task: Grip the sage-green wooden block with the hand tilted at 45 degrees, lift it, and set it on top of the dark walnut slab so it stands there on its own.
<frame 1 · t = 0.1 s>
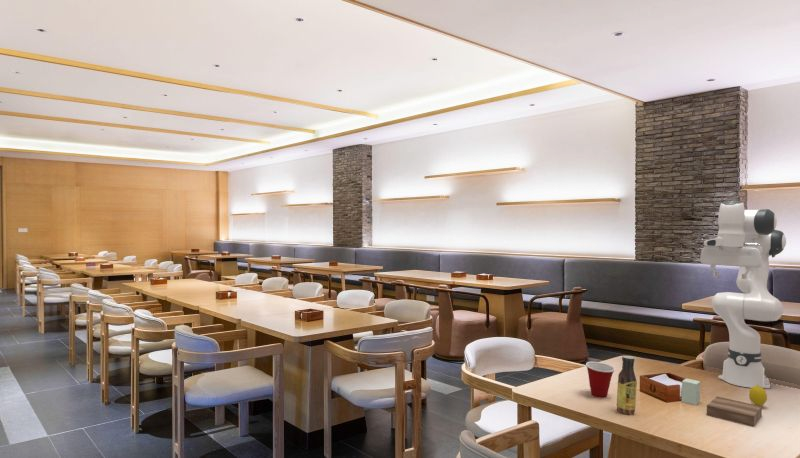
hand: (729, 277, 196), 48 cm above the table, tool pointing down, fingers open, 8 cm apart
sage block: (690, 401, 194), on the table
lemon: (757, 406, 190), on the table
walnut slab: (733, 416, 180), on the table
plastic cup: (599, 396, 199), on the table
sauce bottle: (626, 412, 182), on the table
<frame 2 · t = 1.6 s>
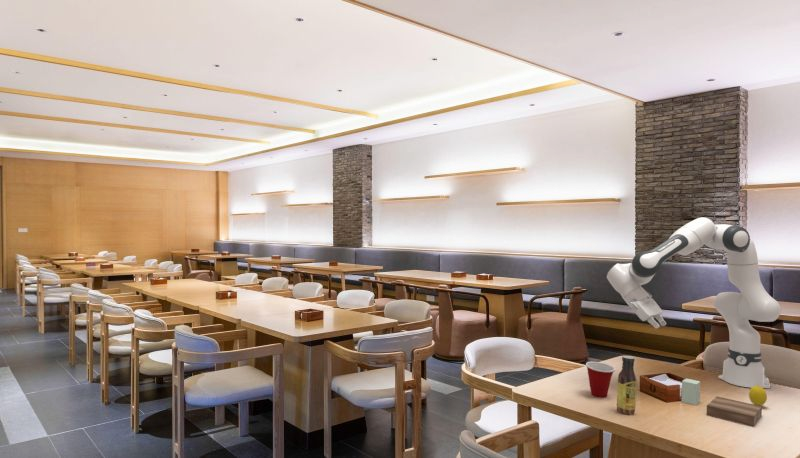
hand: (661, 326, 201), 27 cm above the table, tool tilted 45°, fingers open, 8 cm apart
nothing on the table moved.
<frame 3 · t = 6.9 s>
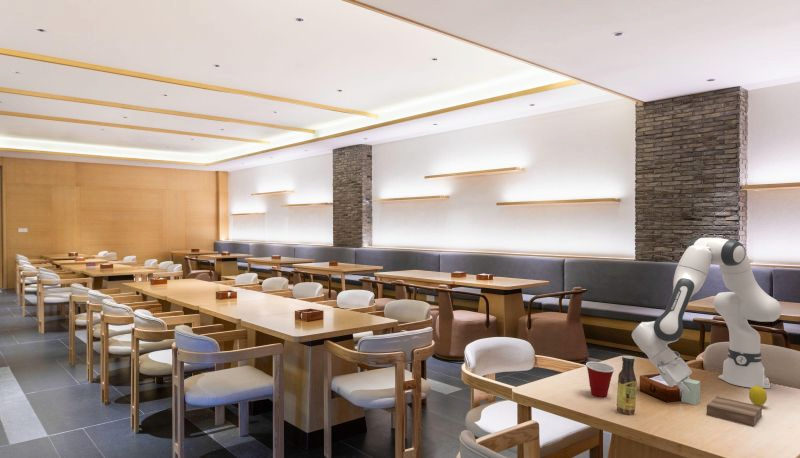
hand: (691, 390, 194), 4 cm above the table, tool tilted 45°, fingers closed on sage block, 5 cm apart
sage block: (690, 401, 194), on the table, touching gripper
everything else where it was.
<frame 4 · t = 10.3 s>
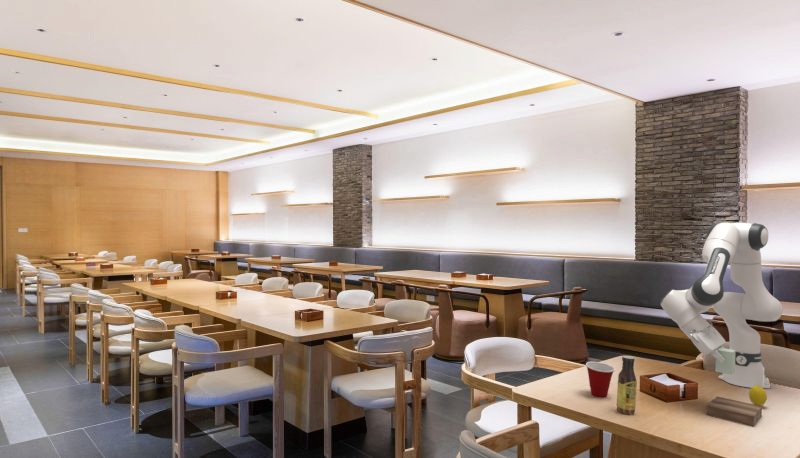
hand: (726, 359, 183), 19 cm above the table, tool tilted 45°, fingers closed on sage block, 5 cm apart
sage block: (725, 371, 183), point 15 cm above the table, touching gripper
everything else where it was.
when the fingers open (9 cm above the table, at t = 13.9 s): sage block drops 1 cm, point 3 cm above the table.
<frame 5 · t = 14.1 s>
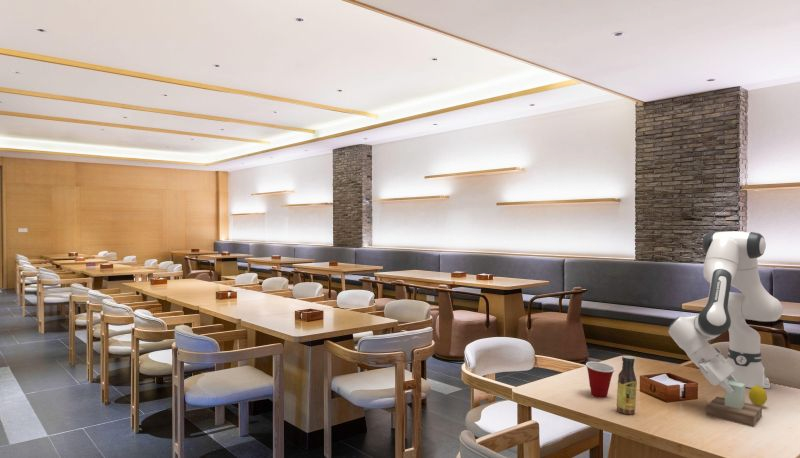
hand: (735, 389, 180), 9 cm above the table, tool tilted 45°, fingers open, 7 cm apart
sage block: (734, 405, 180), point 3 cm above the table
everything else where it was.
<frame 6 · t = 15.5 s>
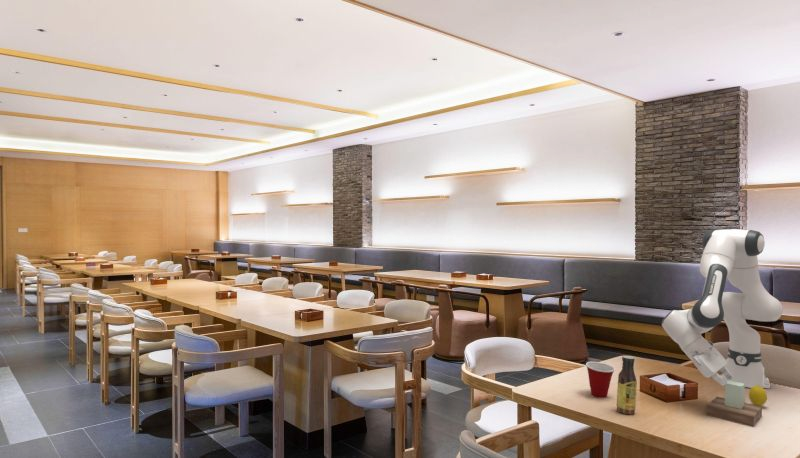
hand: (728, 382, 182), 12 cm above the table, tool tilted 45°, fingers open, 8 cm apart
nothing on the table moved.
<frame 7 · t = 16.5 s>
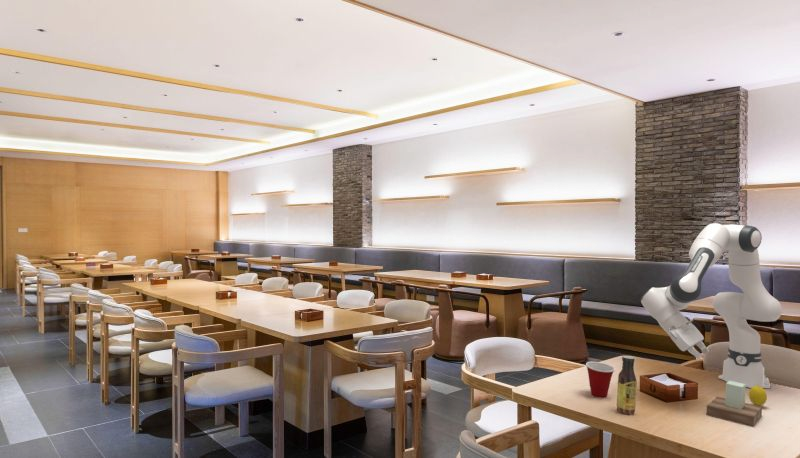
hand: (703, 355, 187), 20 cm above the table, tool tilted 45°, fingers open, 8 cm apart
sage block: (734, 405, 181), point 3 cm above the table, touching walnut slab
walnut slab: (733, 417, 180), on the table, touching sage block
everything else where it was.
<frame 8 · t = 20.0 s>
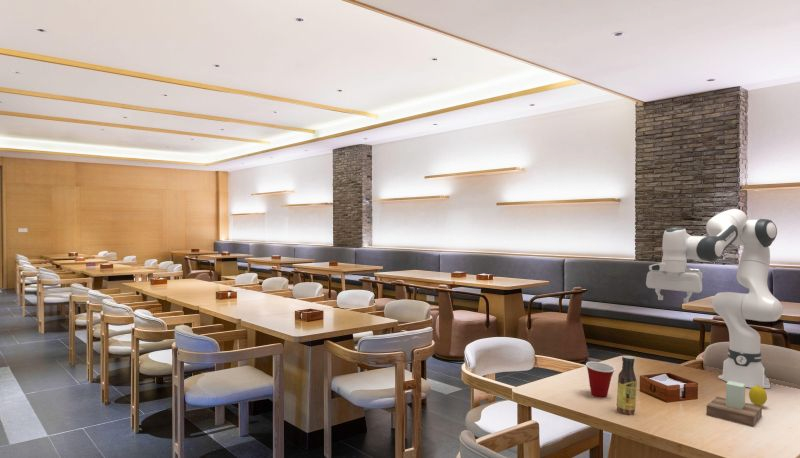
hand: (673, 301, 204), 37 cm above the table, tool pointing down, fingers open, 8 cm apart
nothing on the table moved.
at the end: sage block inside the target area on the walnut slab (0.4 cm from its centre), point 4.0 cm above the walnut slab's base; sage block tilted 0°; the gripper is holding nothing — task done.
